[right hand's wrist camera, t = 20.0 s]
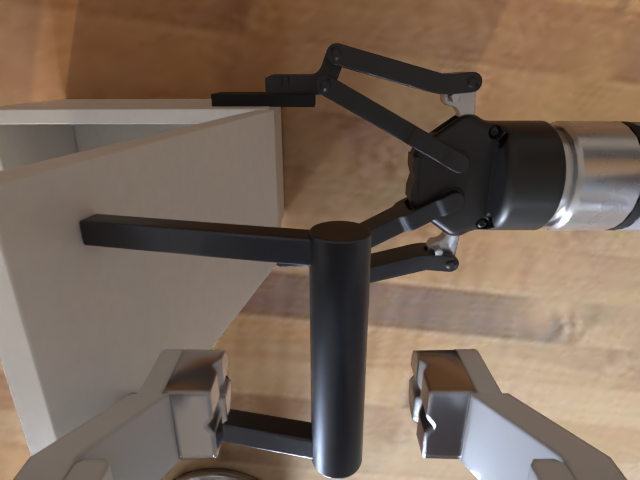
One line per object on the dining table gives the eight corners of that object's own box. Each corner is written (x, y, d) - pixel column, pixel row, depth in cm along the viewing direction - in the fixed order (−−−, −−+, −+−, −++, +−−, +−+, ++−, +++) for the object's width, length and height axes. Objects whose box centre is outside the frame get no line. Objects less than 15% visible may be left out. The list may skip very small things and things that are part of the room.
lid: (47, 512, 12) (345, 585, 11) (-58, 184, 9) (357, 211, 7) (264, 258, 29) (395, 270, 27) (256, 109, 26) (405, 111, 24)
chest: (86, 212, 39) (13, 256, 30) (63, 99, 35) (-28, 109, 26) (284, 211, 39) (273, 256, 30) (280, 98, 35) (266, 108, 26)
